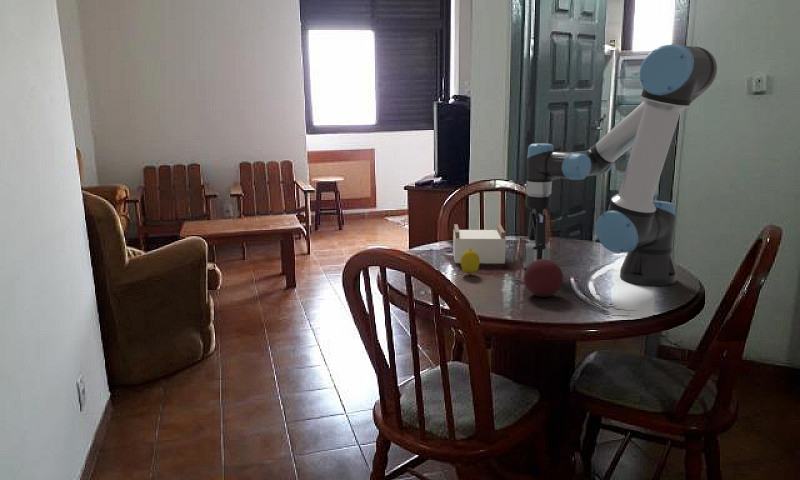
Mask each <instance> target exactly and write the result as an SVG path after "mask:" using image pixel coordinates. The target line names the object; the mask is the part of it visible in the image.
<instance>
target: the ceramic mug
mask: <svg viewBox="0 0 800 480" xmlns="http://www.w3.org/2000/svg"><path fill="white" fill-rule="evenodd" d="M545 245H546V244H545ZM533 247H535V244H529V242H528V243H525V244H524V249H523V268H524V269H527V267H528V266H529V265H530V264H531V263H532V262H534V250H533ZM544 259H548V260H551V261H553V249H552V246H550V245H546V248H545V249H544Z"/></svg>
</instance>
